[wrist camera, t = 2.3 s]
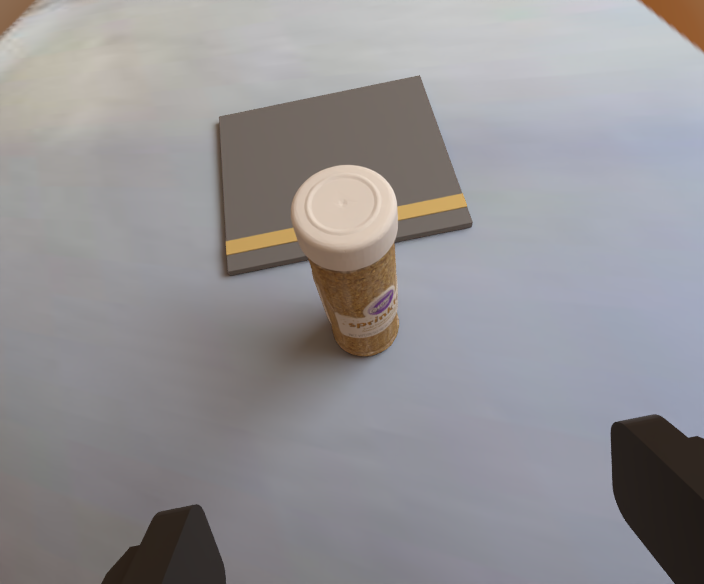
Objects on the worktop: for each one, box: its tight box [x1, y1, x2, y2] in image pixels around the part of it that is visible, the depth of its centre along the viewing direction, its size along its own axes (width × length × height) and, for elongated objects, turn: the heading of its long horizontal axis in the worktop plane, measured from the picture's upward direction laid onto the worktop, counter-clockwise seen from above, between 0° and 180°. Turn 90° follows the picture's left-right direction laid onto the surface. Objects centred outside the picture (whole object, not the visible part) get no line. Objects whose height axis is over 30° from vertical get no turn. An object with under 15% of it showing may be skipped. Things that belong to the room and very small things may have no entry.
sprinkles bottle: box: [291, 165, 399, 356], centre depth 25 cm, size 5×5×13 cm
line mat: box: [219, 75, 473, 276], centre depth 37 cm, size 18×16×1 cm
